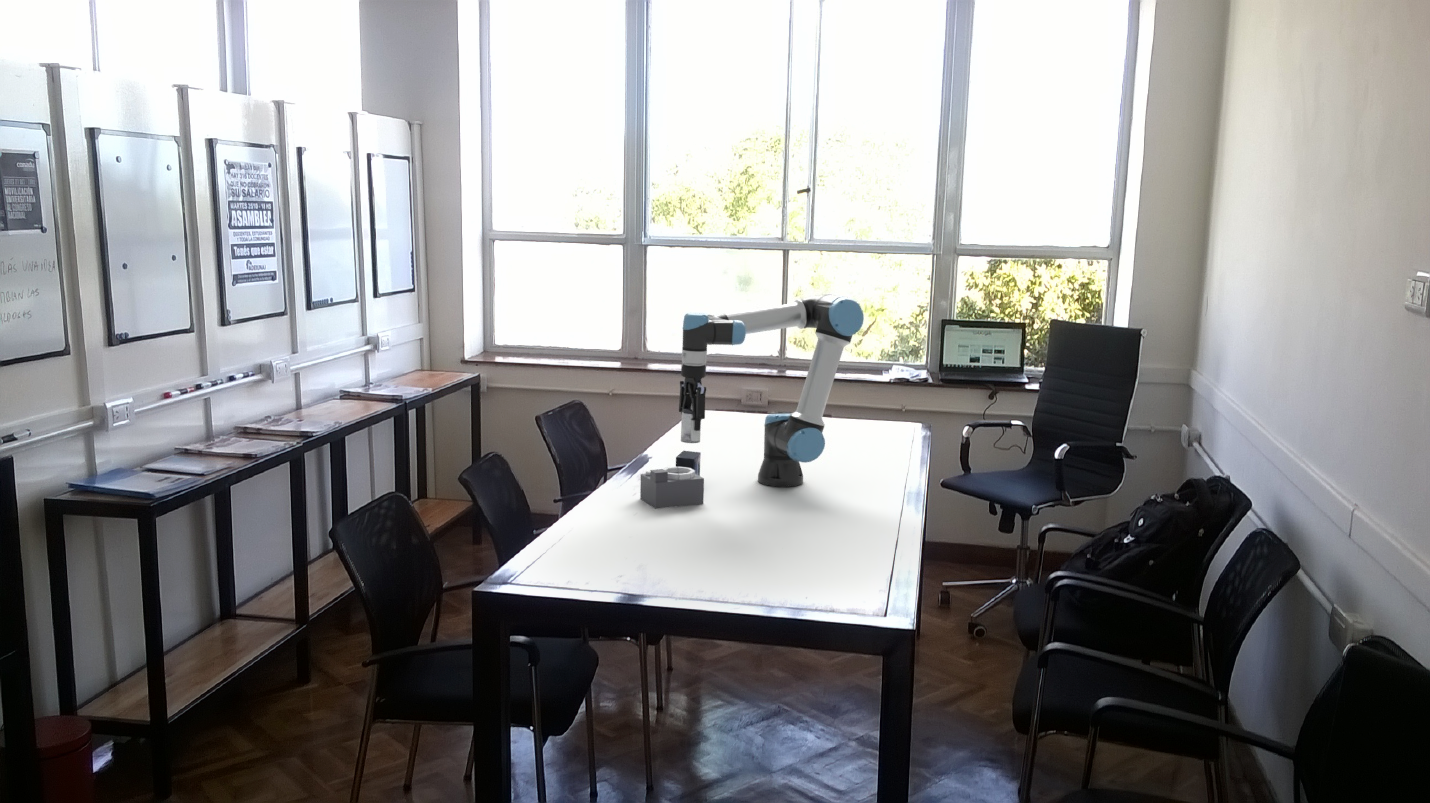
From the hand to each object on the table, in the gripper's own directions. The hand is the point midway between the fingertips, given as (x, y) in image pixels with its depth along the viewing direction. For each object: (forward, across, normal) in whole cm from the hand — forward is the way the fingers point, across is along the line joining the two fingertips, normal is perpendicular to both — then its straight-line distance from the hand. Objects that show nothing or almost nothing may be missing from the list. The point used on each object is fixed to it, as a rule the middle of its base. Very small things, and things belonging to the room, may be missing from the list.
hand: (690, 438), depth 338 cm
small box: (+20, -17, +8) cm, 27 cm away
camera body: (+20, -1, -5) cm, 21 cm away
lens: (+1, 0, 0) cm, 1 cm away
